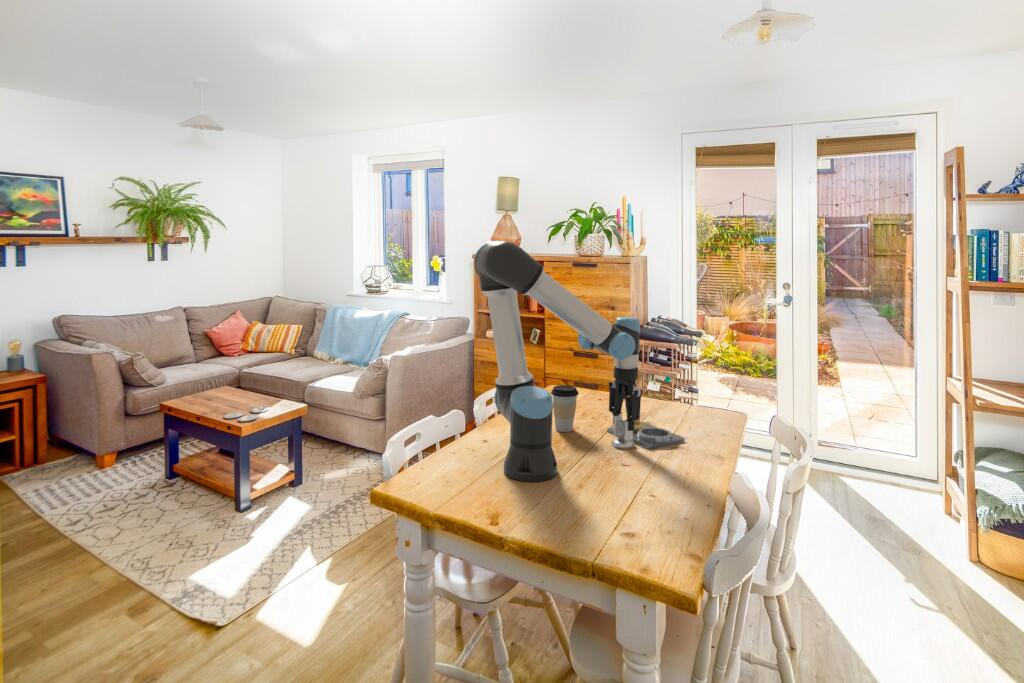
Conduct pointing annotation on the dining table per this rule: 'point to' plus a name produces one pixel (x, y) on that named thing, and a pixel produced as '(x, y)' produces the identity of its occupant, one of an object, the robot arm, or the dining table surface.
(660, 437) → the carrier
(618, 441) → the silver round-based piece
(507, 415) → the robot arm
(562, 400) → the coffee cup
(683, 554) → the dining table surface
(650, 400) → the dining table surface
